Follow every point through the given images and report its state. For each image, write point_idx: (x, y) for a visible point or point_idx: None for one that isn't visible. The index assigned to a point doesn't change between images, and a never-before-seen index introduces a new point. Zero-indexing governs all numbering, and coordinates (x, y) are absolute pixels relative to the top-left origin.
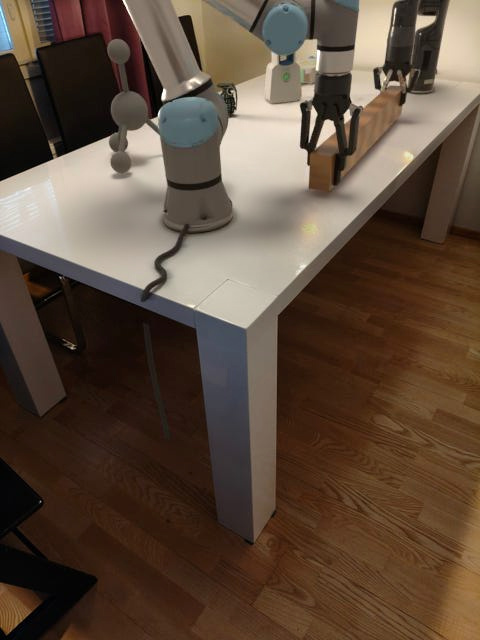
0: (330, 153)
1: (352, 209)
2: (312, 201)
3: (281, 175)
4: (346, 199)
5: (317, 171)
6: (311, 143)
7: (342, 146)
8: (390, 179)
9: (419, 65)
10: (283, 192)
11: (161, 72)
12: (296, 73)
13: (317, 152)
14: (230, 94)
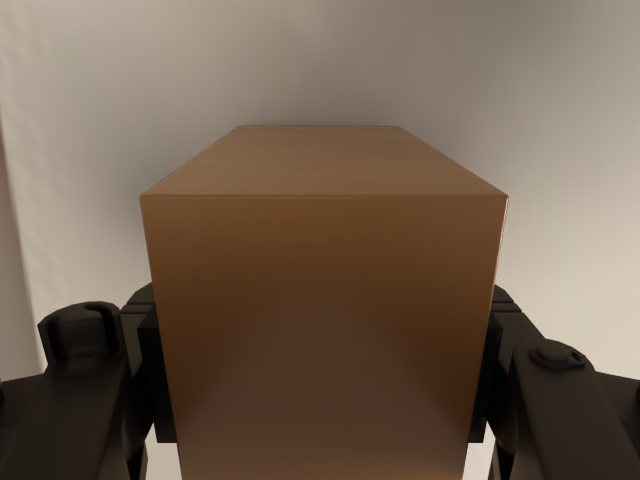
0: (212, 304)
1: (35, 28)
2: (333, 47)
3: (633, 343)
4: (145, 166)
5: (346, 150)
6: (580, 431)
7: (23, 446)
8: None
9: None
10: (567, 114)
11: None
12: None
13: (410, 280)
14: None
